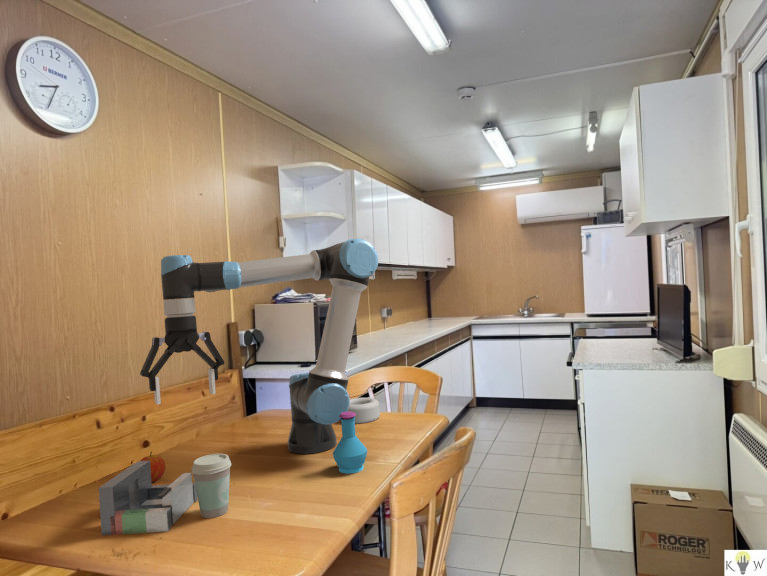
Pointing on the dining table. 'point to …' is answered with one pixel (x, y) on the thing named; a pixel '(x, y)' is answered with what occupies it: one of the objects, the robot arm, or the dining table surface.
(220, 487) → the coffee cup
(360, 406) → the donut shape
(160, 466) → the fruit
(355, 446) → the perfume bottle
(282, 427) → the dining table surface
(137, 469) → the gauge base
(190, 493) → the grey rectangular block
